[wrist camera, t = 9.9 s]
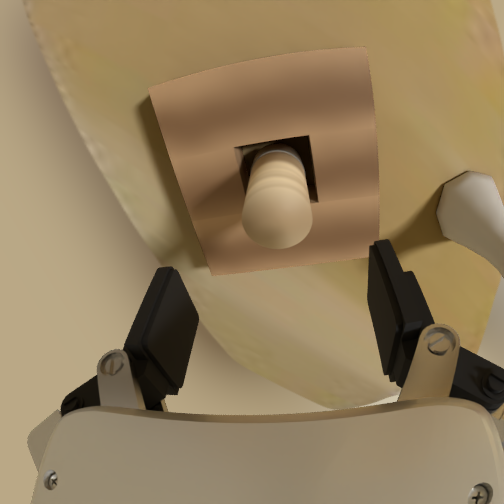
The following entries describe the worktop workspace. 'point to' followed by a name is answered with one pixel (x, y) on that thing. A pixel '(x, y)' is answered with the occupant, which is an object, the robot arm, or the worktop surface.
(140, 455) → the robot arm
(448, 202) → the flask
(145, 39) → the worktop surface
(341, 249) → the board
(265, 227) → the peg
